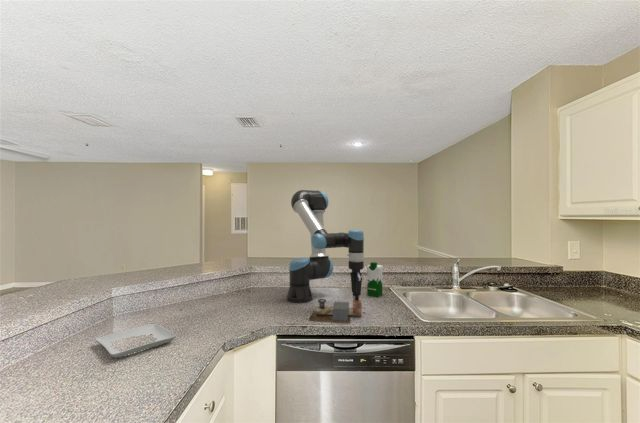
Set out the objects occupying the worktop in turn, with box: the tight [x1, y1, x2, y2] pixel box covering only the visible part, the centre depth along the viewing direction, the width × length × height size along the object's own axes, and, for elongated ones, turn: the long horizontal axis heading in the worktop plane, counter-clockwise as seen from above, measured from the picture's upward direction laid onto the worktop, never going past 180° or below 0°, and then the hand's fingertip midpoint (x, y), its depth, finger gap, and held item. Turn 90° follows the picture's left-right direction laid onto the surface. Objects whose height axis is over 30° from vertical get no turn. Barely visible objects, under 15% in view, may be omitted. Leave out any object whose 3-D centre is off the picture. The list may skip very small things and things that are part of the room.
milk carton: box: [366, 261, 384, 298], centre depth 178 cm, size 9×9×20 cm
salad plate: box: [95, 322, 178, 358], centre depth 109 cm, size 21×21×3 cm
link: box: [316, 299, 363, 316], centre depth 140 cm, size 22×5×6 cm, turn 86°
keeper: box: [308, 298, 352, 324], centre depth 138 cm, size 19×12×7 cm, turn 82°
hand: (356, 308), depth 144 cm, fingers closed
